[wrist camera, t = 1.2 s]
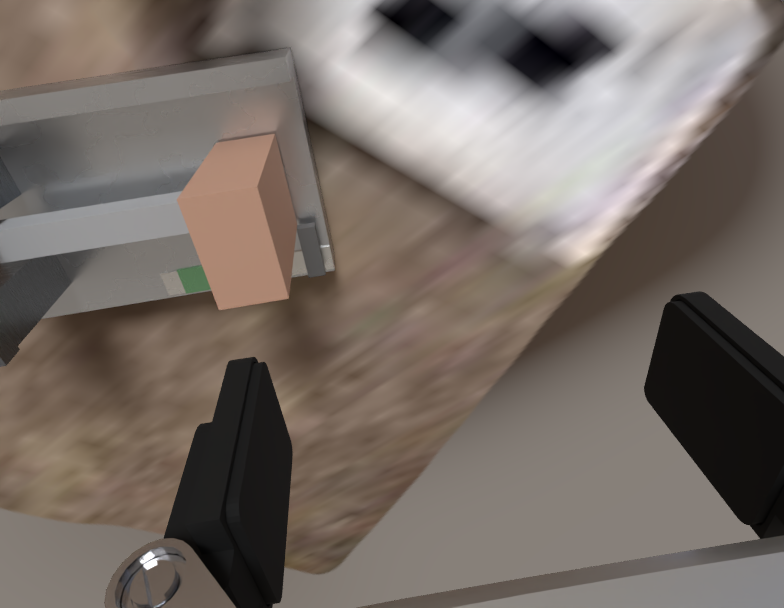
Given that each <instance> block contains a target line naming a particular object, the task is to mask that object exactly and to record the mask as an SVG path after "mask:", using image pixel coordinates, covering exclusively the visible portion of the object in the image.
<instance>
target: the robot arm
mask: <svg viewBox="0 0 784 608" xmlns="http://www.w3.org/2000/svg"><path fill="white" fill-rule="evenodd" d="M781 1H782V2H783V3H784V0H781ZM644 392H645V396H646V398H647V400H648V402H649V403H650V405H651V406H652V407H653V408H654V410H655V411H656V413H657V414H658V415H659V416H660V418H661V419H662V420H663V421H664V423H665V424H666V425H667V427H668V428H669V429H670V431H671V432H672V433H673V435H674V436H675V437H676V438H677V440H678V441H679V442H680V443H681V445H682V446H683V447H684V449H685V450H686V451H687V453H688V454H689V455H690V457H691V458H692V459H693V460H694V462H695V463H696V464H697V466H698V467H699V468H700V469H701V471H702V472H703V474H704V475H705V476H706V477H707V479H708V480H709V481H710V483H711V484H712V485H713V486H714V488H715V489H716V490H717V492H718V493H719V494H720V496H721V497H722V498H723V499H724V501H725V502H726V503H727V505H728V506H729V507H730V508H731V510H732V511H733V512H734V514H735V515H736V516H737V518H738V519H739V520H740V521H741V522H743V523H744V524H746V525H750V526H751V527H752V529H753V530H754V531H755V533H756V534H757V535H758V536H759V537H760V539H758V540H752V541H746V542H740V543H734V544H727V545H721V546H715V547H709V548H702V549H696V550H690V551H684V552H678V553H672V554H665V555H659V556H653V557H648V558H641V559H635V560H629V561H623V562H618V563H611V564H605V565H600V566H593V567H587V568H581V569H575V570H569V571H563V572H557V573H551V574H545V575H539V576H533V577H528V578H522V579H516V580H510V581H504V582H498V583H493V584H487V585H481V586H476V587H469V588H464V589H458V590H452V591H446V592H441V593H435V594H429V595H423V596H417V597H412V598H405V599H400V600H396V601H390V602H384V603H379V604H374V605H368V606H363V607H358V608H784V356H782V355H781V354H780V353H779V352H778V351H776V350H775V349H774V348H773V347H771V346H770V345H769V344H768V343H766V342H765V341H764V340H763V339H762V338H760V337H759V336H758V335H756V334H755V333H754V332H753V331H752V330H750V329H749V328H748V327H747V326H746V325H744V324H743V323H742V322H741V321H739V320H738V319H737V318H735V317H734V316H733V315H732V314H731V313H730V312H728V311H727V310H726V309H725V308H723V307H722V306H721V305H720V304H718V303H717V302H716V301H715V300H714V299H712V298H711V297H710V296H709V295H707V294H706V293H704V292H693V293H686V294H679V295H675V296H674V297H673V298H672V299H671V301H670V302H669V303H667V304H666V305H665V307H664V310H663V315H662V318H661V322H660V326H659V330H658V334H657V339H656V342H655V346H654V350H653V354H652V358H651V362H650V366H649V370H648V374H647V378H646V382H645V386H644ZM292 455H293V454H292V444H291V440H290V437H289V433H288V430H287V427H286V424H285V421H284V418H283V415H282V411H281V408H280V405H279V402H278V399H277V396H276V392H275V389H274V386H273V383H272V380H271V377H270V374H269V370H268V367H267V365H266V363H265V362H260V363H258V361H257V359H256V358H255V357H251V358H244V359H237V360H230V361H229V362H228V365H227V368H226V372H225V376H224V379H223V383H222V387H221V391H220V394H219V398H218V402H217V406H216V409H215V413H214V417H213V421H212V422H210V423H204V424H200V425H199V426H198V427H197V429H196V432H195V435H194V438H193V441H192V445H191V448H190V451H189V455H188V458H187V461H186V465H185V468H184V472H183V475H182V478H181V482H180V485H179V488H178V492H177V495H176V498H175V502H174V505H173V508H172V512H171V515H170V519H169V522H168V525H167V529H166V532H165V535H164V539H159V540H157V541H154V542H151V543H148V544H146V545H144V546H143V547H141V548H140V549H138V550H136V551H135V552H133V553H132V554H131V555H130V556H129V557H128V558H127V559H126V560H125V561H124V562H122V564H121V565H120V566H119V568H118V569H117V570H116V572H115V573H114V574H113V576H112V578H111V580H110V583H109V585H108V587H107V589H106V595H105V602H104V603H105V608H272V605H273V604H275V603H280V601H281V598H282V589H283V576H284V562H285V549H286V536H287V523H288V509H289V496H290V483H291V470H292Z"/></svg>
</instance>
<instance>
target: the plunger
mask: <svg viewBox="0 0 784 608" xmlns="http://www.w3.org/2000/svg"><path fill="white" fill-rule="evenodd" d="M296 231H297V233H298V237H299V241H300V245H301V249H302V253H303V257H304V261H305V265H306V269H307V273H308V277H309V278H310V277H316V276H322V275H326V270H325V265H324V261H323V256H322V252H321V248H320V243H319V239H318V234H317V230H316V226H315V222H314V223H308V224H301V225H297V221H296V217H295V213H294V209H293V205H292V200H291V196H290V192H289V188H288V184H287V180H286V176H285V172H284V168H283V164H282V160H281V156H280V152H279V148H278V144H277V140H276V136H275V134H269V135H263V136H257V137H250V138H244V139H237V140H231V141H224V142H218V143H216V144H215V145H214V147H213V148H212V149H211V151H210V152H209V154H208V155H207V157H206V158H205V159H204V161H203V162H202V164H201V165H200V167H199V168H198V169H197V171H196V172H195V174H194V175H193V177H192V178H191V179H190V181H189V182H188V184H187V185H186V187H185V188H184V190H183V191H180V192H174V193H167V194H161V195H155V196H148V197H142V198H136V199H129V200H123V201H117V202H111V203H104V204H98V205H92V206H85V207H79V208H73V209H66V210H60V211H54V212H47V213H41V214H35V215H28V216H22V217H16V218H10V219H3V220H0V263H7V262H13V261H19V260H25V259H31V258H38V257H44V256H50V255H56V254H62V253H69V252H75V251H81V250H87V249H93V248H100V247H106V246H112V245H118V244H124V243H131V242H137V241H143V240H149V239H155V238H162V237H168V236H174V235H180V234H186V233H190V236H191V238H192V241H193V244H194V246H195V249H196V251H197V254H198V257H199V259H200V262H201V264H202V267H203V270H204V272H205V275H206V277H207V280H208V283H209V285H210V288H211V290H212V293H213V296H214V298H215V301H216V303H217V306H218V309H219V310H224V309H230V308H236V307H242V306H248V305H254V304H260V303H266V302H272V301H278V300H284V299H289V294H290V285H291V276H292V267H293V258H294V249H295V240H296Z"/></svg>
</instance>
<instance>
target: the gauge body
mask: <svg viewBox="0 0 784 608" xmlns="http://www.w3.org/2000/svg"><path fill="white" fill-rule="evenodd" d="M269 134H275V136H276V140H277V144H278V148H279V152H280V156H281V160H282V164H283V168H284V172H285V176H286V180H287V184H288V188H289V192H290V196H291V200H292V205H293V209H294V213H295V217H296V221H297V225H301V224H308V223H314V222H315V226H316V230H317V234H318V239H319V243H320V248H321V252H322V256H323V261H324V265H325V270H326V272H328V271H335V260H334V249H333V245H332V240H331V235H330V230H329V226H328V221H327V216H326V211H325V207H324V202H323V197H322V192H321V188H320V183H319V178H318V173H317V169H316V164H315V159H314V154H313V150H312V145H311V140H310V135H309V131H308V126H307V121H306V116H305V112H304V107H303V102H302V97H301V93H300V88H299V83H298V78H297V74H296V69H295V64H294V59H293V55H292V50H291V47H289V48H283V49H276V50H269V51H263V52H256V53H249V54H243V55H236V56H229V57H223V58H216V59H209V60H203V61H196V62H189V63H183V64H176V65H169V66H163V67H156V68H150V69H143V70H136V71H130V72H123V73H116V74H110V75H103V76H96V77H90V78H83V79H76V80H70V81H63V82H56V83H50V84H43V85H36V86H30V87H23V88H16V89H10V90H3V91H0V220H3V219H10V218H16V217H22V216H28V215H35V214H41V213H47V212H54V211H60V210H66V209H73V208H79V207H85V206H92V205H98V204H104V203H111V202H117V201H123V200H129V199H136V198H142V197H148V196H155V195H161V194H167V193H174V192H180V191H183V190H184V188H185V187H186V185H187V184H188V182H189V181H190V179H191V178H192V177H193V175H194V174H195V172H196V171H197V169H198V168H199V167H200V165H201V164H202V162H203V161H204V159H205V158H206V157H207V155H208V154H209V152H210V151H211V149H212V148H213V147H214V145H215V144H216V143H218V142H224V141H231V140H237V139H244V138H250V137H257V136H263V135H269ZM304 275H308V273H307V269H306V265H305V261H304V257H303V253H302V249H301V245H300V241H299V237H298V233H297V231H296V240H295V249H294V258H293V267H292V276H291V278H292V277H298V276H304ZM207 291H212V290H211V288H210V285H209V283H208V280H207V277H206V275H205V272H204V270H203V267H202V264H201V262H200V259H199V257H198V254H197V251H196V249H195V246H194V244H193V241H192V238H191V236H190V233H186V234H180V235H174V236H168V237H162V238H155V239H149V240H143V241H137V242H131V243H124V244H118V245H112V246H106V247H100V248H93V249H87V250H81V251H75V252H69V253H62V254H56V255H50V256H44V257H38V258H31V259H25V260H19V261H13V262H7V263H0V367H1V366H6V365H7V364H8V363H9V362H10V361H11V359H12V358H13V357H14V356H15V355H16V354H17V352H18V351H19V350H20V349H19V348H18V345H19V344H20V343H21V342H22V341H23V339H24V338H25V337H26V336H27V335H28V334H29V332H30V331H31V330H32V329H33V328H34V327H35V325H36V324H37V323H38V322H39V321H40V320H41V319H44V318H50V317H56V316H62V315H68V314H74V313H80V312H86V311H93V310H99V309H105V308H111V307H117V306H123V305H129V304H135V303H141V302H147V301H153V300H159V299H165V298H171V297H177V296H183V295H189V294H195V293H201V292H207Z"/></svg>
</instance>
